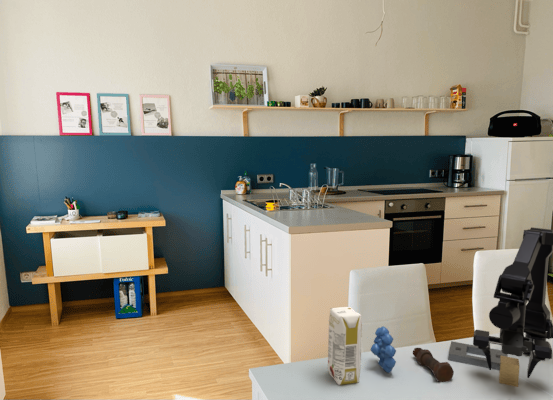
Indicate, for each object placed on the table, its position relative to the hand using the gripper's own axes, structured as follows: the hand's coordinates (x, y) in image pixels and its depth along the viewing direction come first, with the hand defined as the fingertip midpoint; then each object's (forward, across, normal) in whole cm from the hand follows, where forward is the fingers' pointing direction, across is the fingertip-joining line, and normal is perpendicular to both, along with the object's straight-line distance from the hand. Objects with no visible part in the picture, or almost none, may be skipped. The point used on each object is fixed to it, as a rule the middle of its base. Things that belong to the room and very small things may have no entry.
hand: (508, 373), depth 123 cm
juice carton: (+2, -41, -19) cm, 45 cm away
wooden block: (+2, 0, 0) cm, 2 cm away
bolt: (+3, -20, -2) cm, 20 cm away
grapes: (+2, -33, -9) cm, 34 cm away
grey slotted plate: (+2, -8, +11) cm, 14 cm away
